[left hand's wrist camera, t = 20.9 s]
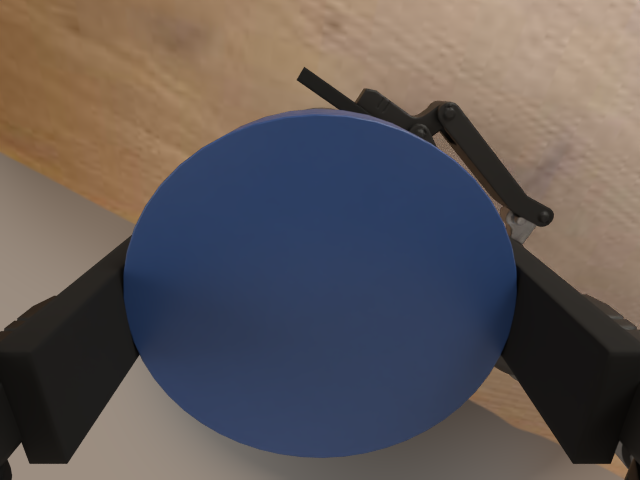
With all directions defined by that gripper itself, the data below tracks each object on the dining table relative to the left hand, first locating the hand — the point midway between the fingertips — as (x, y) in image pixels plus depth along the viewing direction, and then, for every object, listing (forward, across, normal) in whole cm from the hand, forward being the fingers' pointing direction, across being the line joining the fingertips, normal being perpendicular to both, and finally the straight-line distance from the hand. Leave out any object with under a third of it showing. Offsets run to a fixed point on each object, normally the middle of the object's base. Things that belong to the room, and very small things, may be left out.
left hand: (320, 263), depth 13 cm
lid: (-3, 0, 0) cm, 3 cm away
